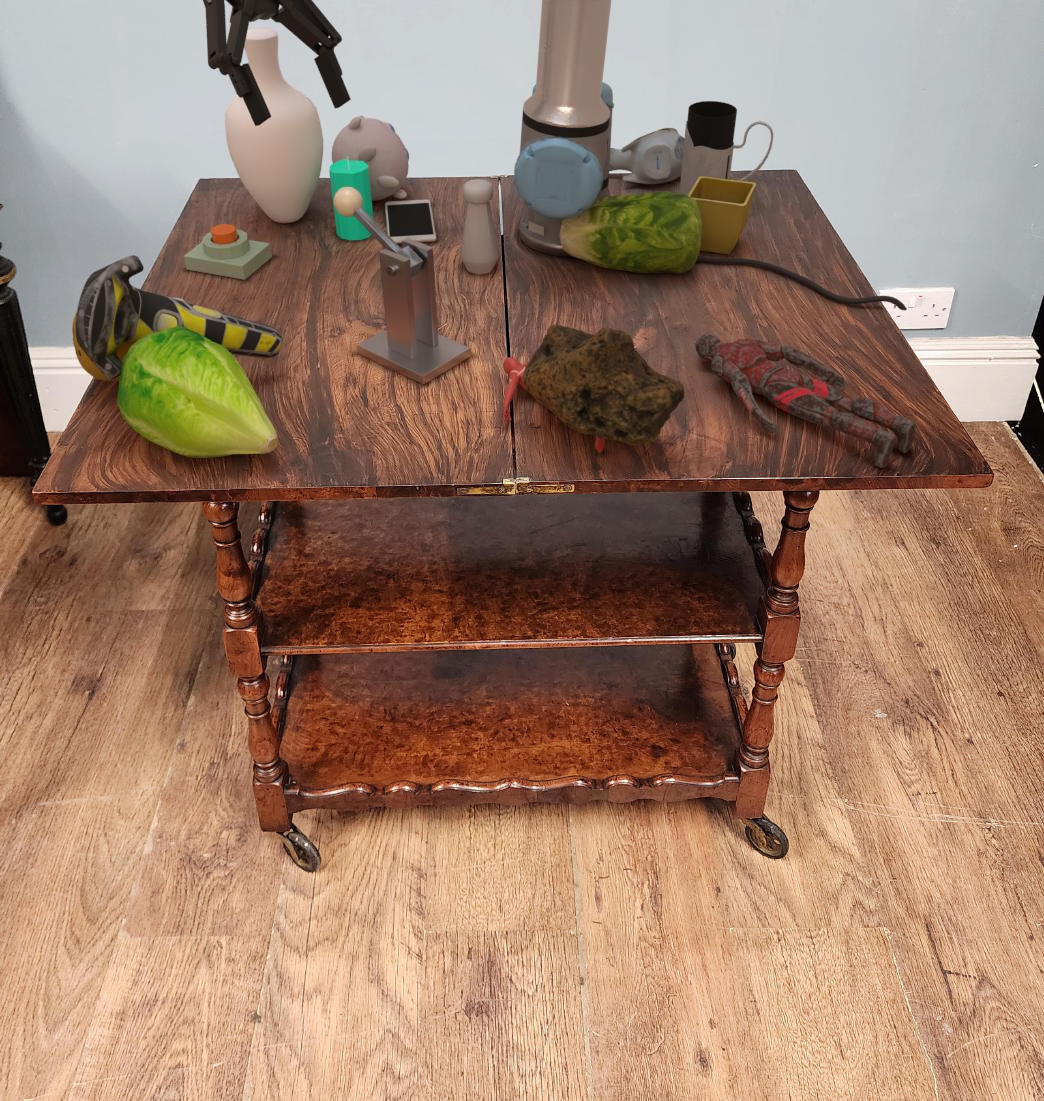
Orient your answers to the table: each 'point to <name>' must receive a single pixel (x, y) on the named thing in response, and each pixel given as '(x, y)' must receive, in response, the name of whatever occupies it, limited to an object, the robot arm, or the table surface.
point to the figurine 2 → (802, 392)
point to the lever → (372, 225)
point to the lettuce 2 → (637, 233)
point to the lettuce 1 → (192, 397)
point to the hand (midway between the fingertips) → (304, 112)
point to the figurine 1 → (515, 377)
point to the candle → (357, 178)
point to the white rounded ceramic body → (651, 157)
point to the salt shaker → (479, 228)
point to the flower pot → (722, 211)
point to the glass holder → (711, 143)
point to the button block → (228, 256)
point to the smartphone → (410, 220)
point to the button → (224, 234)
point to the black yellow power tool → (154, 319)
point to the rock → (601, 385)
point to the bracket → (411, 320)
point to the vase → (275, 136)
